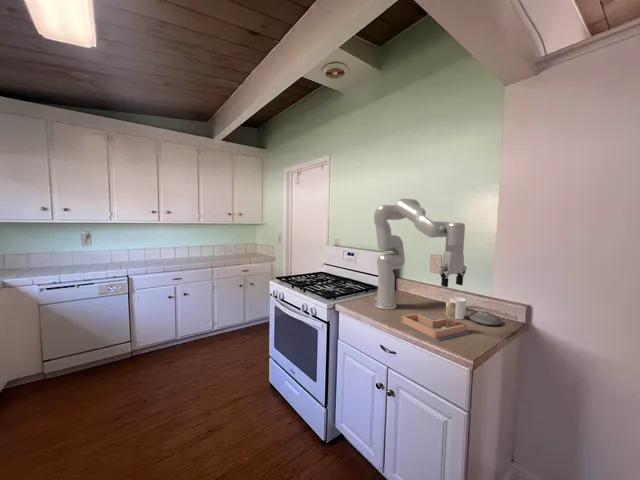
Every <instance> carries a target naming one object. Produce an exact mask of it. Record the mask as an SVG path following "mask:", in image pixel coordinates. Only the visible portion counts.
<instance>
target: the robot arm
mask: <svg viewBox="0 0 640 480" xmlns="http://www.w3.org/2000/svg"><path fill="white" fill-rule="evenodd" d="M403 219H408V220H409V221H411V222H412V223H413V225H414V227H415V228H416V230H418V231H419V232H421V233H422V234H424V235H425V236H427V237H430V238H445V251H444V252H443V255H442V260H441V266H440V267H439V268H438V272H439V276H440V278H441V284H440V285H441V286H442V287H444V288H448V287H449V277H450V275H456V277H455V284H456V285H458V286H463V283H464V277H465V274H466V271H467V266H466V265H465V257H464V256H465V255H464V247H465V246H464V245H465V231H466V230H465V229H466V225H465V224H464V223H463V222H448V221H435V220H434V221H433V220H431V219H430V218H428V217H426V209H424V208H423V207H421V204H420V202H419V201H418V200H417V199H413V198H400V199H399V200H397V201H396V202H395V205H394V204H383V205H380V206H378V207H377V208H376V209H375V211H374V214H373V220H374V225H375V232H376V239H377V240H376V241H377V242H376V243H377V247H378V250H379V251H381V252H389V253H383V254H380V255H379V256H378V257H377V260H376V267H377V274H378V275H377V277H378V278H377V296H375V297H374V300H376V302H375V303H374V306H375V308H377V309H380V310H381V309H382V310H387V311H388V310H389V311H390V310H394V309H397V304H396V303H395V281H396V280H395V274H394V272H393V270H398V269H401V268H403V267H404V265H405V262H406V261H405V260H406V258H405V252H404V250H405V249H404V243H403V240H402V238H401V237H400V236H399V235H395V234H394V235H393V234H392V227H391V225H390V223H389V222H388V220H390V221H391V220H392V221H398V220H403Z"/></svg>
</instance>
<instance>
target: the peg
mask: <svg viewBox="0 0 640 480" xmlns="http://www.w3.org/2000/svg"><path fill="white" fill-rule="evenodd" d="M455 306H456V304H455V303H453V302H450V301H447V302H445V318H446V328H449V327H454V326H455V321H456V319H455Z"/></svg>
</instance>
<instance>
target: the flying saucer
mask: <svg viewBox="0 0 640 480" xmlns="http://www.w3.org/2000/svg"><path fill="white" fill-rule="evenodd" d="M468 319H470V321H473V322H475V323H477V324H482V325H487V326H498V325H502V323H503V320H502V319H501V318H500V317H499V316H497V315H496V314H494V313H491V312H490V311H485V310H481V311H474V312H471V313H470V314H469V315H468Z"/></svg>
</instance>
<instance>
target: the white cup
mask: <svg viewBox="0 0 640 480" xmlns="http://www.w3.org/2000/svg"><path fill="white" fill-rule="evenodd" d="M449 302H453V303H455V304H456V306H455V320H463V319H465V315H466V309H467V299H466V298H464V297H459V296H452V297H450V298H449Z"/></svg>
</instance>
